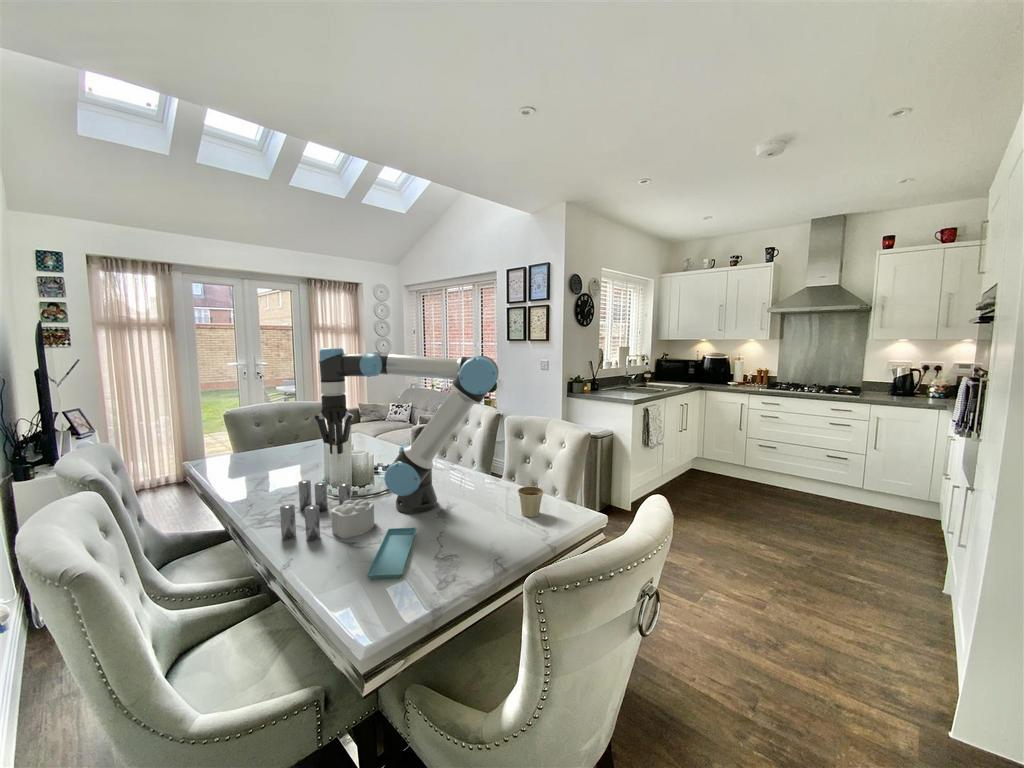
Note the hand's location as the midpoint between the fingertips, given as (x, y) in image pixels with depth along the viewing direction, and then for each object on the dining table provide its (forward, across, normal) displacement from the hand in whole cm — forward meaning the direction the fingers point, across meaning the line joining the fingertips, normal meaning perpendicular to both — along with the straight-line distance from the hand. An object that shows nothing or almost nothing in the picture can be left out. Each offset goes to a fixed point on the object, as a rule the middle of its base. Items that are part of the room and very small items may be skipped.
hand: (337, 463), depth 141 cm
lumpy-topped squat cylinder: (+21, -8, +6) cm, 23 cm away
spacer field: (+20, +10, +2) cm, 22 cm away
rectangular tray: (+21, -26, +22) cm, 40 cm away
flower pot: (+21, -66, -8) cm, 70 cm away
